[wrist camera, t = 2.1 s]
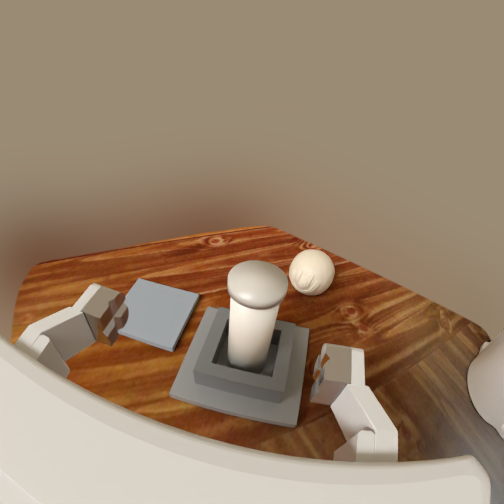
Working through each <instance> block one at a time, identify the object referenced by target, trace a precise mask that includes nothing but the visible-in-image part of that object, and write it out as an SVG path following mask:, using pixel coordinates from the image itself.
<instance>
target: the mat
mask: <svg viewBox="0 0 504 504" xmlns="http://www.w3.org/2000/svg"><path fill="white" fill-rule="evenodd" d="M125 299H126V300H125V301H124V303H125V304H126V306H127V307H128V310H129V317H128V320H127V323H126V324H125V326H124V328H122V329H120V330H118V333H119V334H122V335H124V336H127V337H130V338H133V339H135V340H138V341H141V342H144V343H147V344H150V345H153V346H156V347H159V348H162V349H165V350H168V351H171V352H173V351H174V349H175V347H176V345H177V342H178V340H179V338H180V336H181V334H182V332H183V330H184V328H185V326H186V324H187V322H188V320H189V318H190V316H191V314H192V312H193V310H194V308H195V306H196V304H197V302H198V300H199V294H196V293H192V292H188V291H184V290H181V289H177V288H173V287H169V286H165V285H161V284H158V283H154V282H150V281H147V280H143V279H140V278H139V279H138V280H137V281H136V283H135V284H134V286H133V287H132V288H131V290H130V291H129V292H128V294H127V295H126V297H125Z"/></svg>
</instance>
